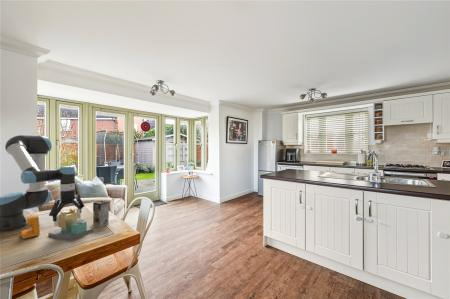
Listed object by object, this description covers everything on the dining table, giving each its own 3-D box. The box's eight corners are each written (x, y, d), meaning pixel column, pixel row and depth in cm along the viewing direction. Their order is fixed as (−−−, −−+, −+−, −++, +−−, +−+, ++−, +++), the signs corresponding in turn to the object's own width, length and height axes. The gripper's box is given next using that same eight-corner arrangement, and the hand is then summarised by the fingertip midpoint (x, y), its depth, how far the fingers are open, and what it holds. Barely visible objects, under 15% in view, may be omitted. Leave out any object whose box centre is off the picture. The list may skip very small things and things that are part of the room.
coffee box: (92, 224, 143) (92, 202, 143) (101, 221, 149) (101, 200, 149) (100, 226, 139) (100, 204, 139) (109, 223, 145) (109, 201, 145)
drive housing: (48, 236, 125) (48, 217, 124) (71, 227, 138) (71, 210, 138) (71, 240, 119) (71, 221, 118) (93, 231, 132) (93, 213, 132)
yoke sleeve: (66, 228, 125) (65, 212, 125) (58, 226, 127) (58, 211, 127) (77, 224, 131) (77, 209, 131) (69, 222, 134) (69, 208, 133)
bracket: (21, 235, 126) (21, 216, 126) (36, 231, 132) (36, 213, 131) (23, 240, 119) (23, 220, 119) (39, 236, 125) (39, 217, 125)
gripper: (49, 194, 116) (50, 230, 116) (90, 186, 139) (90, 216, 140) (41, 193, 118) (41, 228, 118) (82, 185, 142) (82, 215, 142)
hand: (68, 222), depth 129 cm, fingers open, 13 cm apart
